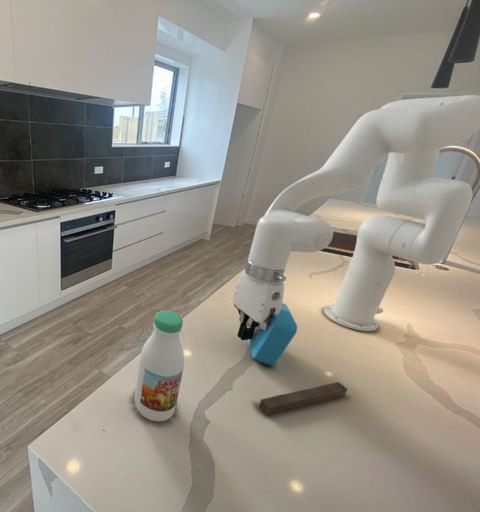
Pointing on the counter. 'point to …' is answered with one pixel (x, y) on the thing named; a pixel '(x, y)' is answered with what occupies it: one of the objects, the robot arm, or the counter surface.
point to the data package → (273, 337)
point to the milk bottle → (160, 369)
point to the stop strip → (302, 398)
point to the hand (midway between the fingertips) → (244, 337)
